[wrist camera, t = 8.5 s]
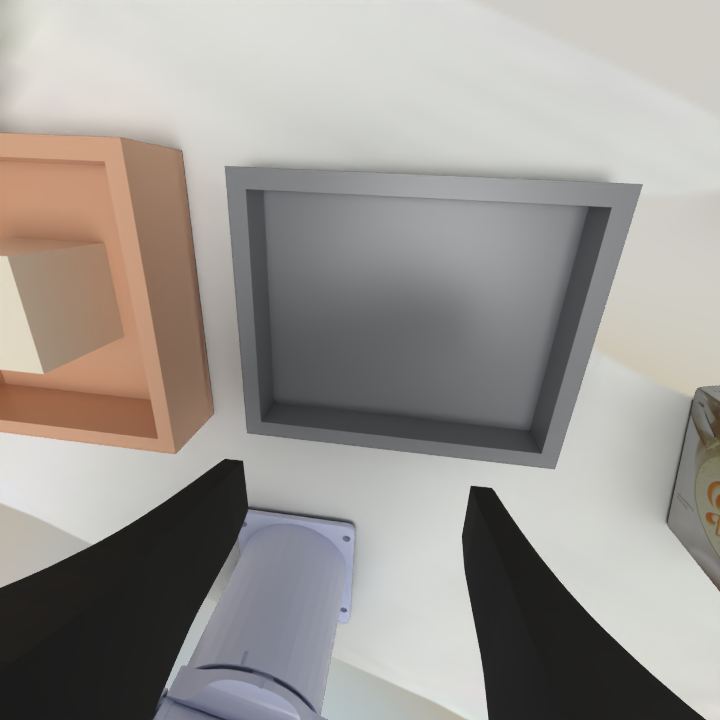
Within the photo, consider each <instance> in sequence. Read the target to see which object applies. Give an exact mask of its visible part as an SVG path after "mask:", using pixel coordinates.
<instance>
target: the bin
mask: <svg viewBox="0 0 720 720" xmlns="http://www.w3.org/2000/svg"><path fill="white" fill-rule="evenodd" d="M13 237H20V238H35V239H50V240H65V241H80V242H95V243H105V247H106V252H107V257H108V261H109V266H110V271H111V276H112V280H113V285H114V290H115V295H116V299H117V304H118V309H119V314H120V318H121V323H122V328H123V333H124V337H123V338H120V339H118V340H116V341H114V342H112V343H110V344H108V345H105V346H103V347H101V348H99V349H97V350H95V351H93V352H91V353H88V354H86V355H84V356H82V357H80V358H78V359H76V360H73V361H71V362H69V363H67V364H65V365H63V366H61V367H58V368H56V369H54V370H52V371H50V372H48V373H46V374H37V373H27V372H18V371H9V370H0V432H4V433H12V434H20V435H28V436H36V437H44V438H51V439H59V440H67V441H75V442H83V443H91V444H99V445H107V446H115V447H123V448H131V449H139V450H147V451H155V452H163V453H171V454H176V453H177V452H178V451H179V450H180V449H181V448H182V447H183V446H184V445H185V444H186V443H187V442H188V441H189V440H190V438H191V437H192V436H193V435H194V434H195V433H196V432H197V431H198V430H199V429H200V428H201V427H202V426H203V425H204V424H205V423H206V421H207V420H208V419H209V418H210V417H211V416H212V415H213V414H214V412H213V403H212V395H211V387H210V379H209V370H208V362H207V354H206V346H205V338H204V329H203V321H202V313H201V305H200V296H199V288H198V280H197V272H196V263H195V255H194V247H193V239H192V230H191V222H190V214H189V206H188V197H187V189H186V181H185V173H184V165H183V156H182V151H180V150H176V149H171V148H166V147H162V146H157V145H153V144H148V143H144V142H139V141H134V140H130V139H125V138H121V137H96V136H69V135H41V134H14V133H0V239H2V238H13Z"/></svg>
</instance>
